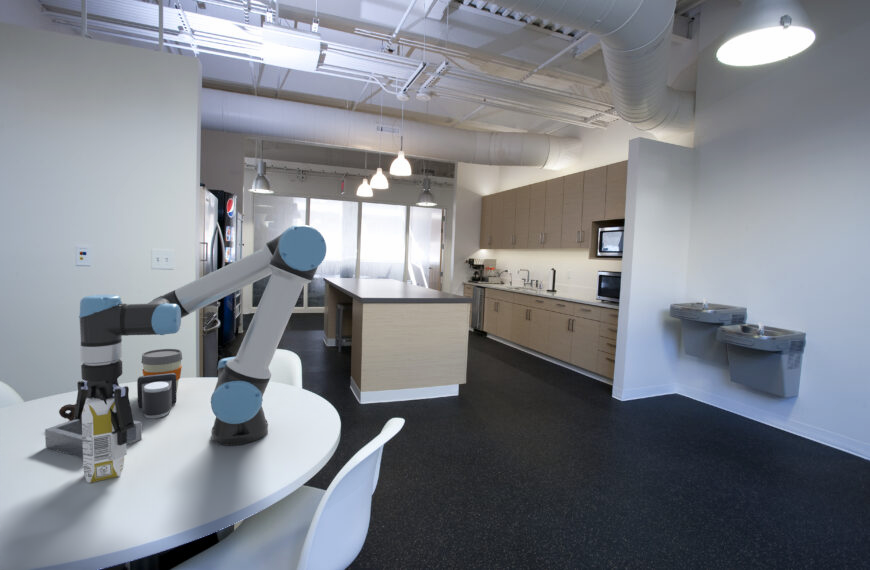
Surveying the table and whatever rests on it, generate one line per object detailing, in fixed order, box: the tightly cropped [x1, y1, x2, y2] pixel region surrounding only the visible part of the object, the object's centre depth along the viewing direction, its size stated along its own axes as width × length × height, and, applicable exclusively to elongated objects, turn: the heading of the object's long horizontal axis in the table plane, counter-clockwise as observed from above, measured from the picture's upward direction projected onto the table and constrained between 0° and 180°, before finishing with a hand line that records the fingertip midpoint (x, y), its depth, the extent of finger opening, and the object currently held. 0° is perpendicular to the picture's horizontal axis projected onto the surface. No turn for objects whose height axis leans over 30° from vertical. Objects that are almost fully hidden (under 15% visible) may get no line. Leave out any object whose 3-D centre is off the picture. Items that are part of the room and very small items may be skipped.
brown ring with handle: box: [58, 403, 82, 422], centre depth 127 cm, size 12×10×8 cm
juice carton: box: [82, 397, 125, 484], centre depth 99 cm, size 8×9×19 cm
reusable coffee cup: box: [140, 348, 183, 393], centre depth 152 cm, size 13×13×15 cm
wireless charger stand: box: [136, 373, 177, 419], centre depth 136 cm, size 11×13×11 cm
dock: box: [44, 419, 143, 459], centre depth 114 cm, size 18×13×5 cm
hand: (104, 452), depth 99 cm, fingers closed on juice carton, 9 cm apart
